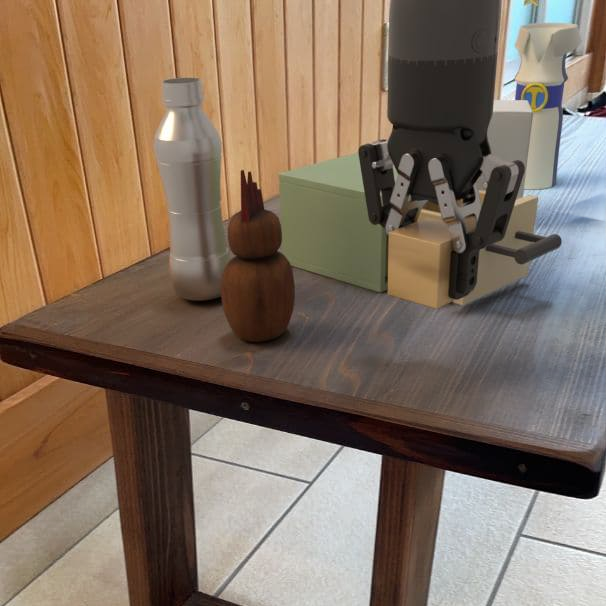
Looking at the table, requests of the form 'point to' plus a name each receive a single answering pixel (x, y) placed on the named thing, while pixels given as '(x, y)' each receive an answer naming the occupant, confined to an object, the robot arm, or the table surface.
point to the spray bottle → (544, 93)
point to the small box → (510, 134)
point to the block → (420, 263)
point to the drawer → (503, 248)
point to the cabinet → (332, 223)
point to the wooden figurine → (256, 271)
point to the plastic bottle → (191, 190)
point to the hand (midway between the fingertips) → (430, 287)
